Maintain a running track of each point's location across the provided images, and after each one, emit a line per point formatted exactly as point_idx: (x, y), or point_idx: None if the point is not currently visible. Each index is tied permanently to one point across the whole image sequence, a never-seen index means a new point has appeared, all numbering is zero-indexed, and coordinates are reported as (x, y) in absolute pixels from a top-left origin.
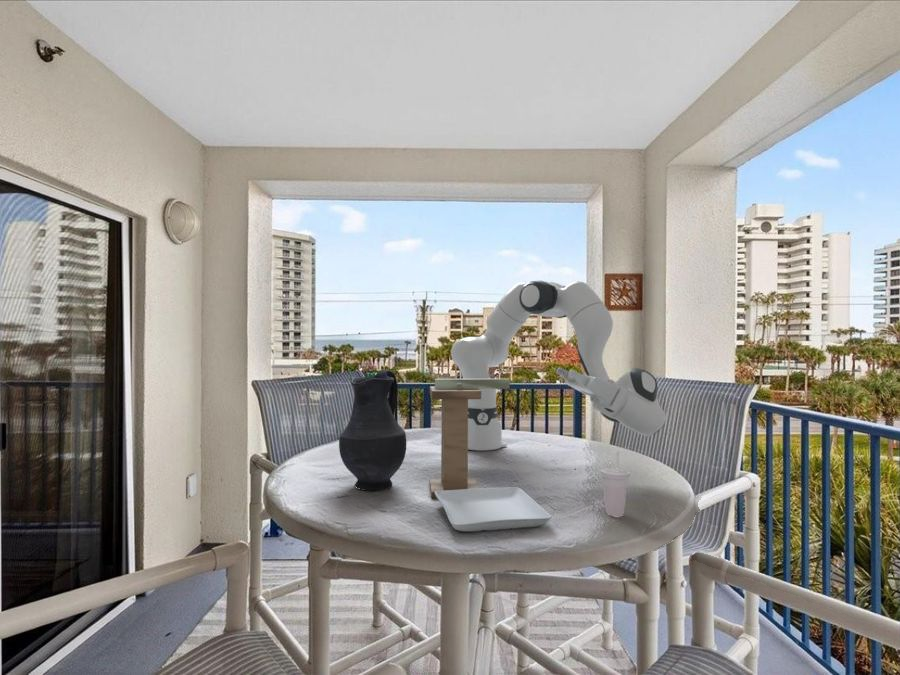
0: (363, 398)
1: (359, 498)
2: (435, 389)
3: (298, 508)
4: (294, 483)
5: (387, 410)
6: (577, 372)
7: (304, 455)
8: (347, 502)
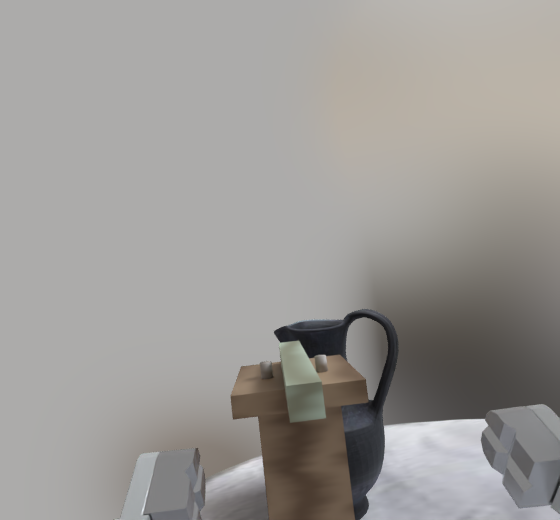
0: None
1: None
2: (273, 364)
3: (241, 469)
4: None
5: None
6: (124, 512)
7: (472, 420)
8: (257, 498)
